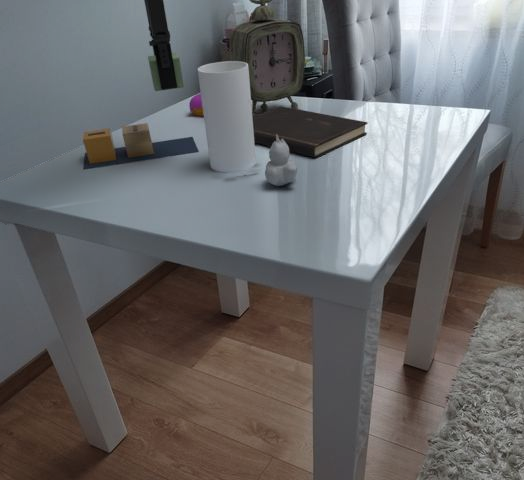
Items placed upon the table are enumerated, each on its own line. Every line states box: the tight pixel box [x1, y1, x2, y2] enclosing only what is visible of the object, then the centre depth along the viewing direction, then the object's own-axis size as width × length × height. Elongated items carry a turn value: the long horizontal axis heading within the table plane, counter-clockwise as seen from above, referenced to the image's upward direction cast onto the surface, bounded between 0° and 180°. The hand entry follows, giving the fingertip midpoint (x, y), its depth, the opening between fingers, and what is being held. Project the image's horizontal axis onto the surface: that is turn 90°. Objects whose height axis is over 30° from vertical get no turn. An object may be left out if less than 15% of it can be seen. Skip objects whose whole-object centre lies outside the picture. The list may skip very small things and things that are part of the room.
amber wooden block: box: [82, 128, 116, 164], centre depth 97 cm, size 5×5×5 cm
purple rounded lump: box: [189, 92, 204, 117], centre depth 117 cm, size 10×10×5 cm
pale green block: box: [147, 52, 185, 92], centre depth 87 cm, size 5×5×5 cm
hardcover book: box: [252, 105, 369, 159], centre depth 101 cm, size 16×23×2 cm
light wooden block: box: [121, 122, 154, 158], centre depth 98 cm, size 5×5×5 cm
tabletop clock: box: [228, 0, 306, 117], centre depth 108 cm, size 14×9×25 cm, turn 118°
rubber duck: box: [264, 134, 298, 187], centre depth 81 cm, size 5×7×8 cm
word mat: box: [82, 136, 200, 171], centre depth 100 cm, size 22×10×1 cm, turn 103°
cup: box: [197, 60, 257, 173], centre depth 86 cm, size 8×8×16 cm
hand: (168, 84), depth 88 cm, fingers closed on pale green block, 5 cm apart
